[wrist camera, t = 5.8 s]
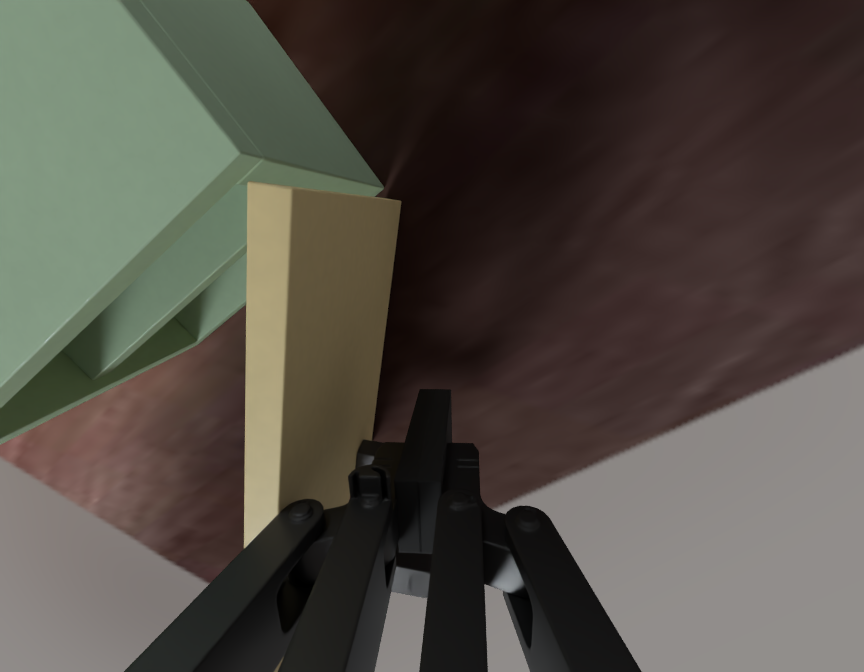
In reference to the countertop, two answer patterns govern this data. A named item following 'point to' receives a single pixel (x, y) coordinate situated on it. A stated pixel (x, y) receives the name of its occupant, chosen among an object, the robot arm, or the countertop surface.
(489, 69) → the countertop surface
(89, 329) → the cupboard
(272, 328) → the door
